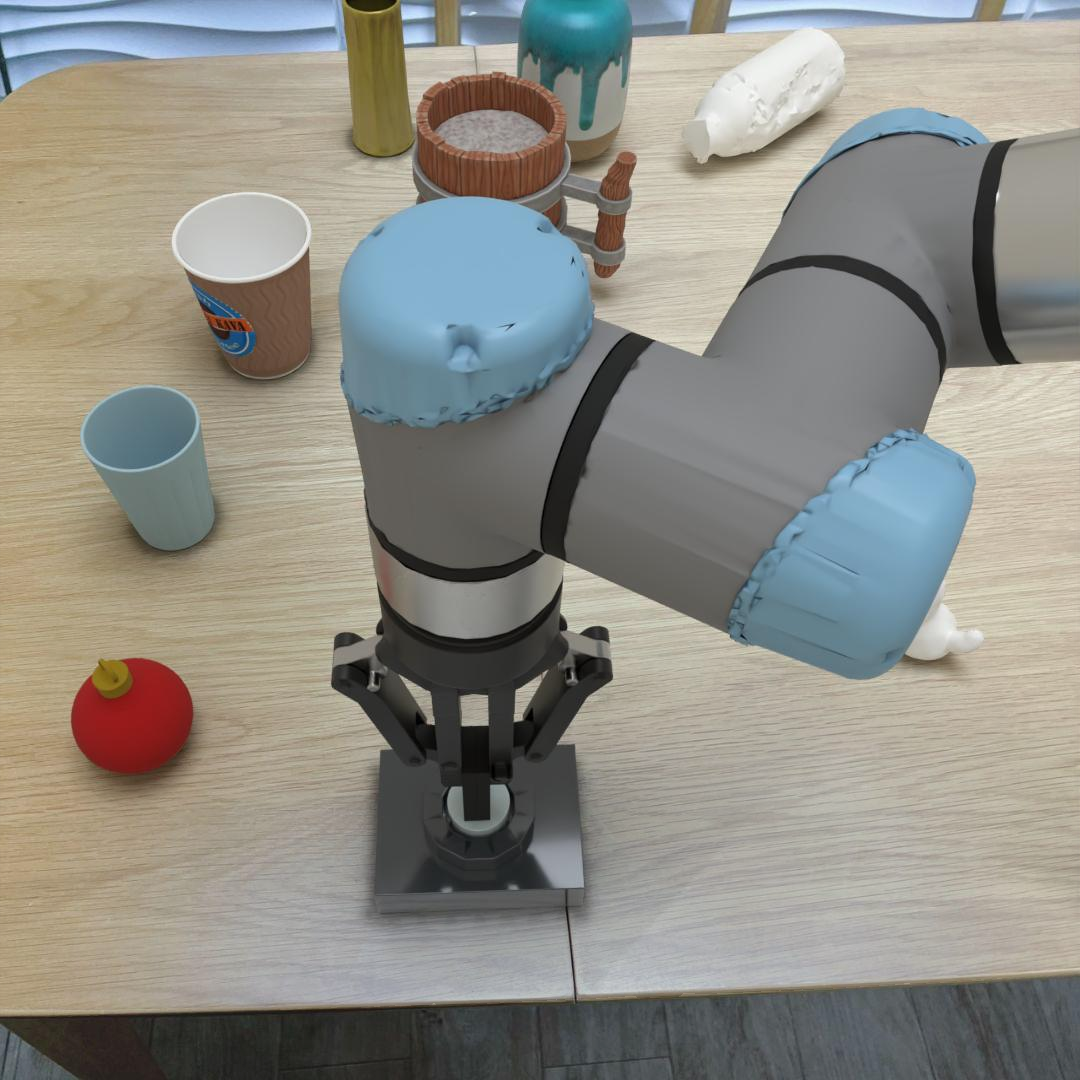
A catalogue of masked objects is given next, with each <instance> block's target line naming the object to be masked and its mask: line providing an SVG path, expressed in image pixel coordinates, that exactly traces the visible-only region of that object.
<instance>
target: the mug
mask: <svg viewBox="0 0 1080 1080" xmlns="http://www.w3.org/2000/svg"><path fill="white" fill-rule="evenodd" d="M415 122H416V125H415V126H416V137H417V138H416V140H415V142H413V146H412V150H411V164H412V165H411V166H412V180H413V183H414V186H415V188H416V191H417V192H418V195H417V197H416V199H415V200H416V202H415V205H418V204H421V203H424V202H428V201H433V200H437V199H443V198H451V197H469V196H471V197H487V198H494V199H500V200H506V201H510V202H513V203H517V204H520V205H522V206H525V207H528V208H530V209H532V210H534V211H537V212H539V213H541V214H543V215H544V216H546V217H547V218H549V220H550V221H551V223H552V224H553V226H554V227H555V228H556V229H557V230H558V231H559V232H560V233H561V234H562V235H563V236H567V237H568V238H570V239H571V240H572V241H574V242H575V243H576V245H577V246H578V248H579V250H580V251H581V253H582V254H585V255H589V256H591V258H592V260H593V269H594V275H596V277H598V278H600V279H609V278H611V277H612V276H613V275H614V274H615V273H616V272H617V271H618V269H619V268H620V267H621V264H622V262H623V261H624V260H625V256H626V248H627V247H626V246H627V242H626V239H625V237H624V234H625V233H624V232H625V228H626V220H627V219H626V217H627V214H628V211H630V209H631V206H632V199H633V189H632V187H631V186H630V181H631V179H632V176H633V173H634V170H635V168H636V166H637V162H638V157H637V155H636V154H635V153H634V152H632V151H628V150H624V151H620V152H618V153H617V155H616V160H615V161H614V163H612V165H611V166H610V167H609V168H608V169H607V174H606V175H605V176H604V177H603V178H602V179H601V181H600V180H596V179H593V178H588V177H586V176H582V175H578V174H574V173H571V163H572V162H571V154H570V150H569V147H568V145H567V143H566V141H565V138H566V124H567V116H566V112H565V109H564V107H563V105H562V104H561V102H560V100H559V99H558V98H557V97H556V96H555V95H554V94H553V93H552V92H551V91H549V90H548V89H547V88H545V87H544V86H542V85H540V84H537V83H535V82H532V81H529V80H526V79H523V78H520V77H517V76H515V75H514V76H513V75H510V74H509V75H508V74H507V72H506V71H497V70H496V71H494V70H492V71H491V73H478V74H471V75H465V74H462V75H458V76H454V77H451V78H450V80H448V81H445V82H442V81H438V82H436V83H435V84H434V85H432V86H430V87H429V88H428V89H427V90H426V91H424V93H423V94H422V98H421V100H420V102H419V104H418V105H417V109H416V112H415ZM566 197H567V198H569V199H573V200H577V201H580V202H584V203H588V204H592V205H595V206H596V208H597V209H598V211H597V218H598V220H597V223H596V228H595V231H591V230H588V229H585V228H580V227H577V226H573V225H569V224H567V223H568V210H569V209H568V203H567V199H566Z"/></svg>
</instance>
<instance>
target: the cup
mask: <svg viewBox="0 0 1080 1080" xmlns="http://www.w3.org/2000/svg"><path fill="white" fill-rule="evenodd" d="M199 413H200V412H199V409H198V407H197V406H196V404H195V403H194V402H193V400H192V399H191V398H190V397H189V396H188V395H186V394H185V393H184V392H181V391H179V390H177V389H175V388H172V387H168V386H165V385H155V384H143V385H137V386H132V387H127V388H125V389H121V390H119V391H116V392H114V393H112V394H109V395H108V396H107V397H105V398H103V399H102V400H101V401H99V402H98V403H97V404H95V405H94V406H93V407H92V409H90V411H89V412H88V414H87V415H86V416H85V418H84V420H83V421H82V424H81V427H80V432H79V440H80V441H79V443H80V446H81V448H82V449H81V450H82V451H83V453H84V455H85V456H86V457H87V459H88V460H89V462H90V463H91V465H92V466H93V468H94V470H96V473H97V474H98V475H99V476H100V478H101V479H102V481H103V482H104V484H105V485H106V487H107V488H108V490H109V491H110V493H111V494H112V496H113V497H114V499H115V500H116V502H117V503H118V505H119V506H120V508H121V509H122V511H123V512H124V514H125V515H126V517H127V518H128V520H129V521H130V523H131V524H132V526H133V527H134V528H135V530H136V531H137V533H138V535H139V536H140V537H141V538H142V540H143V541H145V542H146V543H147V544H148V545H149V546H151V547H152V548H155V549H158V550H162V551H168V552H170V551H181V550H185V549H187V548H190V547H192V546H194V545H196V544H198V543H200V542H201V541H202V540H203V539H204V538H205V537H206V536H207V535H208V534H209V533H210V532H211V530H212V528H213V526H214V522H215V518H216V513H215V507H214V501H213V500H214V499H213V493H212V486H211V482H210V476H209V475H210V474H209V468H208V463H207V462H208V461H207V456H206V451H205V445H204V435H203V429H202V423H201V416H200V414H199Z"/></svg>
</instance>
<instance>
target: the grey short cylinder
mask: <svg viewBox="0 0 1080 1080" xmlns="http://www.w3.org/2000/svg"><path fill="white" fill-rule="evenodd" d="M447 806H448V817H449V823H450V825H451V827H452V829H453V831H454V832H456V833H458V834H460V835H461V836H463V837H465V838H467V839H469V840H470V839H490V838H491V837H493V836H495V835H496V834H498V833H500V832H501V831H503V830H505V828H506V826H507V824H508V821H509V814H510V796H509V792H508V790H507V788H506V786H505V785H490V820H482V821H464V809H463V791H462V787H451V789H450V791H449V794H448V798H447Z"/></svg>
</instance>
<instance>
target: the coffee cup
mask: <svg viewBox="0 0 1080 1080" xmlns="http://www.w3.org/2000/svg"><path fill="white" fill-rule="evenodd" d="M171 235H172V236H171V250H172V251H171V252H172V254H173V256H174V258H175V259H176V261H177V262H178V263H179V264H180V265H181V266H182V267H183V270H184V272H185V274H186V276H187V279H188V282H189V284H190V285H191V288H192V290H193V292H194V293H193V294H194V295H195V297H196V299H197V301H198V303H199V306H200V308H201V310H202V313H203V315H204V318H205V320H206V322H207V324H208V327H209V328H210V330H211V333H212V335H213V338H214V339H215V341H216V343H217V344H218V347H219V349H220V352H221V354H222V355H223V357H224V358H225V359H226V361H227V363H228V364H229V366H230V367H231V368H232V369H233V371H235V372H237V373H238V374H240V375H241V376H244V377H245V378H249V379H253V380H272V379H273V380H274V379H279V378H282V377H284V376H288V375H289V374H291V373H293V372H295V371H296V370H298V369H299V368H300V367H301V366H302V365H303V364H305V363H306V360H307V359H308V357H309V355H310V352H311V344H312V343H311V341H312V340H313V339H312V338H313V337H312V336H313V335H312V333H313V332H312V302H311V300H312V299H311V298H312V297H311V265H310V263H311V261H310V259H311V258H310V244H311V242H312V238H313V237H312V236H313V228H312V224H311V222H310V219H309V217H308V215H307V214H306V213H305V212H304V211H303V210H302V208H300V207H299V206H298V204H295V203H294V202H292V201H290V200H288V199H287V198H285V197H282V196H279V195H276V194H271V193H267V192H260V191H259V192H258V191H242V192H233V193H226V194H222V195H219V196H216V197H213V198H210V199H207V200H205V201H203V202H201V203H199V204H197V205H196V206H194V207H193V208H191V209H190V210H188V211H187V212H186V213H185V214H184V215H183V216H182V217H181V218H180V219H179V220H178V222H177V223H176V225H175V227H174V228H173V232H172V234H171Z"/></svg>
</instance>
